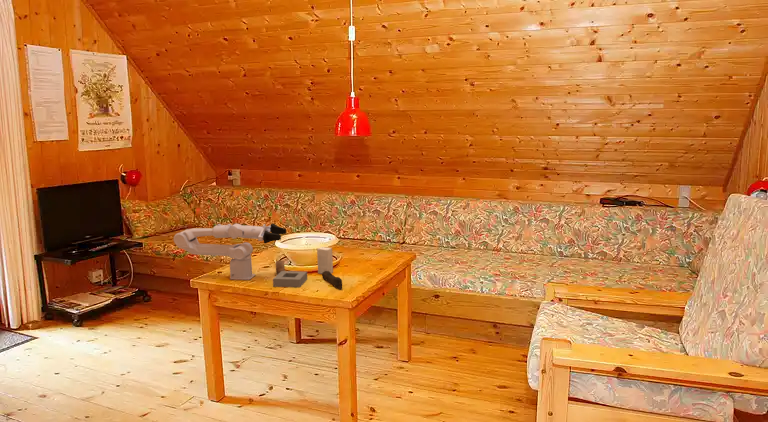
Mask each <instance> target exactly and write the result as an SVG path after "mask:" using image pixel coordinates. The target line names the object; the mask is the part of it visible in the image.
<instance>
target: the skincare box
mask: <svg viewBox="0 0 768 422" xmlns="http://www.w3.org/2000/svg"><path fill="white" fill-rule="evenodd" d="M316 254H317V256H316V257H317V258H316V259H317V274H321V275H322V273H323V272H324V271H329V272H330V273H331V274H333V273H334V266H333V263H334V261H333V260H334V259H333V248H332V247H324V246H320V247H318V248H316Z"/></svg>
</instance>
